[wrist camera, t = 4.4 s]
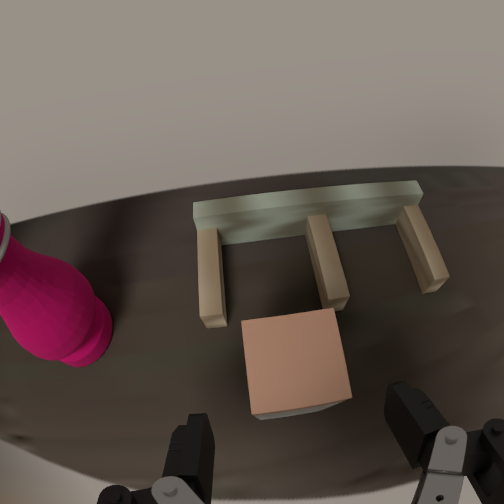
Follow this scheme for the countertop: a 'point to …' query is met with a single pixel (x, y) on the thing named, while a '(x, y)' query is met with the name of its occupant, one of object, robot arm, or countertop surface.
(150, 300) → the countertop surface
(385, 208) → the comb rack
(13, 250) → the pepper mill
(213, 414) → the countertop surface
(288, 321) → the plug
